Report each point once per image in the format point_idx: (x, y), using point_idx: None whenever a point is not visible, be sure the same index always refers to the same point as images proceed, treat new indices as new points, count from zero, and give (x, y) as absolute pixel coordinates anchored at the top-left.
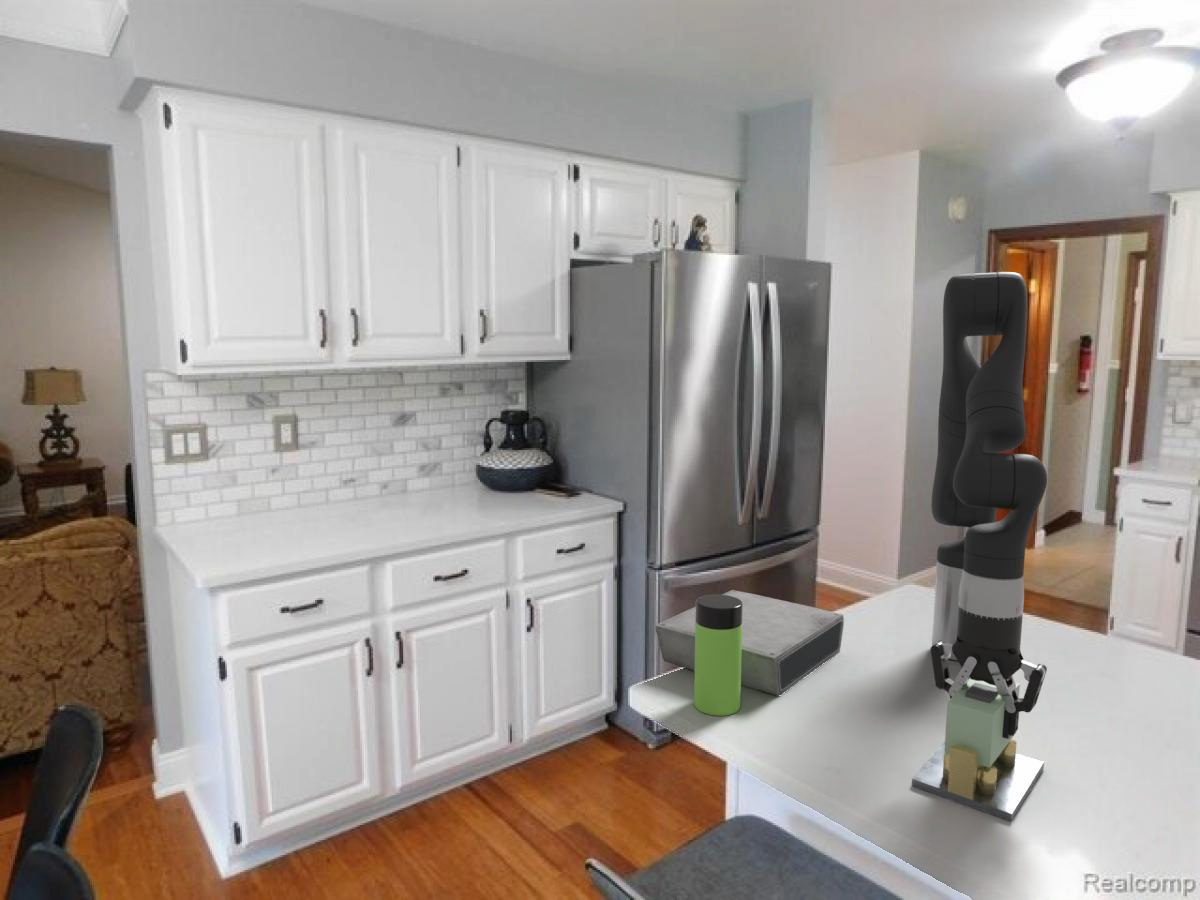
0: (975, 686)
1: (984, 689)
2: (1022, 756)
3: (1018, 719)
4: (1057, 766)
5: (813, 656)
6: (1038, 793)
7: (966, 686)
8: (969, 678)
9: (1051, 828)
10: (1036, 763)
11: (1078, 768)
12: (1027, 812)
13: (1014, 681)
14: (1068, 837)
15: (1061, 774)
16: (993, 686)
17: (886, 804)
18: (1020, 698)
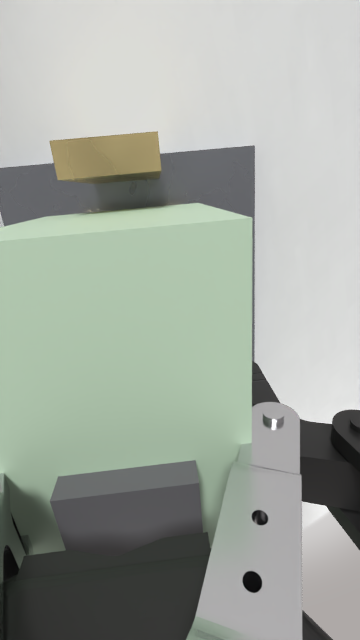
0: (83, 541)
1: (139, 539)
2: (199, 159)
3: (270, 389)
4: (275, 97)
5: None
6: (265, 284)
7: (25, 502)
8: (16, 554)
9: (309, 386)
10: (240, 173)
11: (325, 59)
12: (264, 368)
13: (301, 497)
14: (337, 391)
15: (291, 142)
16: (132, 400)
17: None
18: (314, 456)
